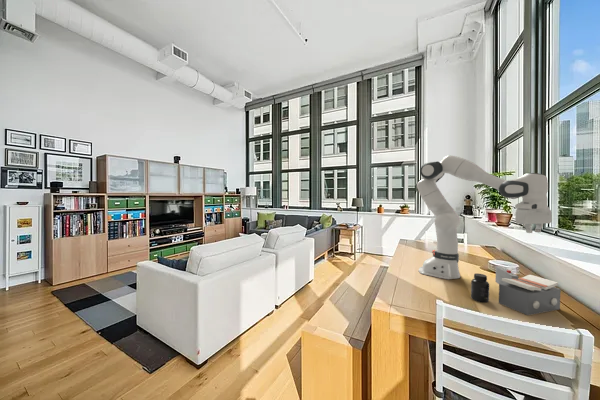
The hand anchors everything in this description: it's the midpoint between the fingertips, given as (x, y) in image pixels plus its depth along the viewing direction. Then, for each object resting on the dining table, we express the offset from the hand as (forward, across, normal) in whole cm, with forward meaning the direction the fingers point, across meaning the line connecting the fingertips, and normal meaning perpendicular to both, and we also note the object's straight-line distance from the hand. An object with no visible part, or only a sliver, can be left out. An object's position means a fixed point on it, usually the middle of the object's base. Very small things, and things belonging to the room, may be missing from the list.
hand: (533, 232), depth 116 cm
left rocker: (+22, +23, +9) cm, 33 cm away
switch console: (+31, +17, +9) cm, 37 cm away
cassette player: (+32, +4, -9) cm, 33 cm away
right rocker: (+22, +12, +9) cm, 27 cm away
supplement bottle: (+31, +33, -1) cm, 45 cm away
